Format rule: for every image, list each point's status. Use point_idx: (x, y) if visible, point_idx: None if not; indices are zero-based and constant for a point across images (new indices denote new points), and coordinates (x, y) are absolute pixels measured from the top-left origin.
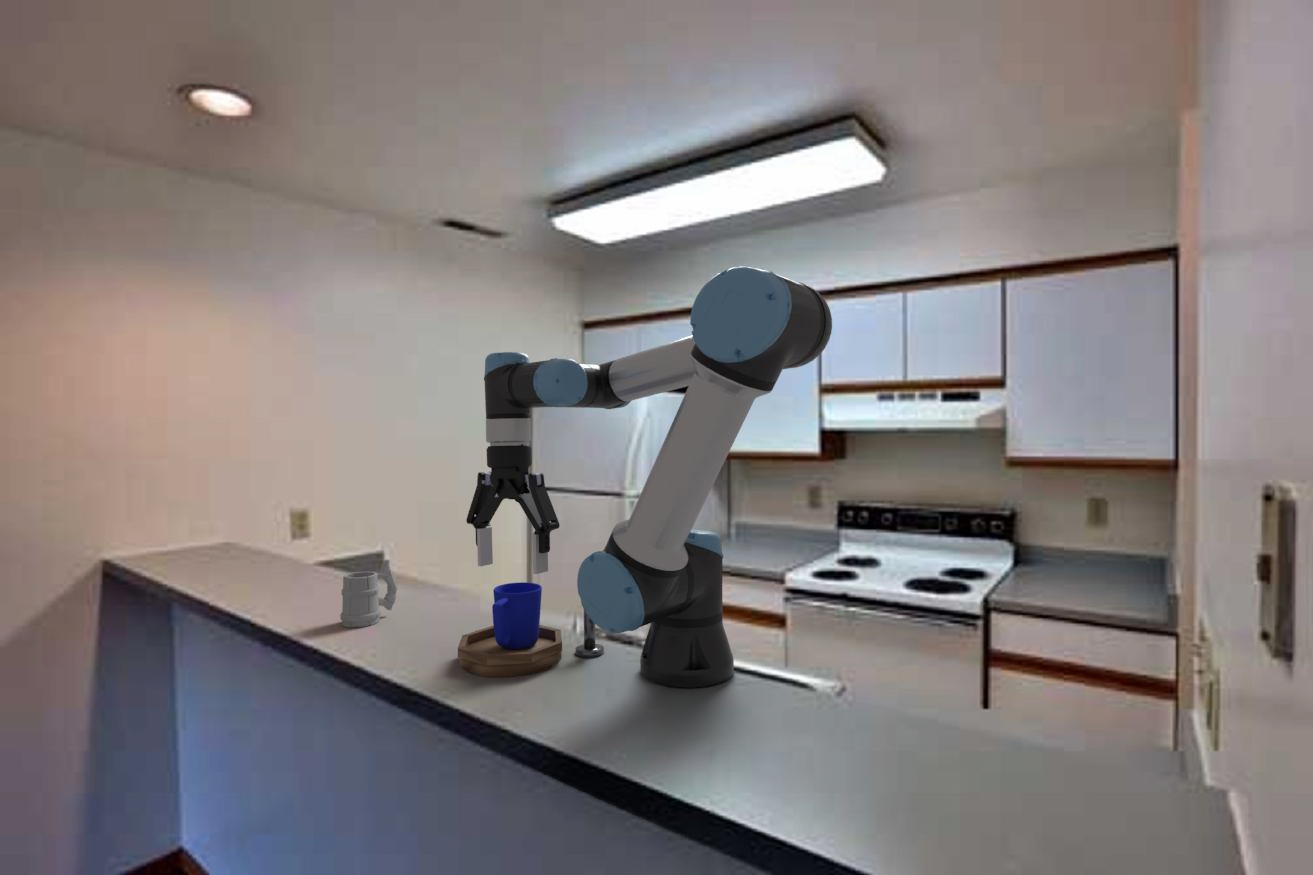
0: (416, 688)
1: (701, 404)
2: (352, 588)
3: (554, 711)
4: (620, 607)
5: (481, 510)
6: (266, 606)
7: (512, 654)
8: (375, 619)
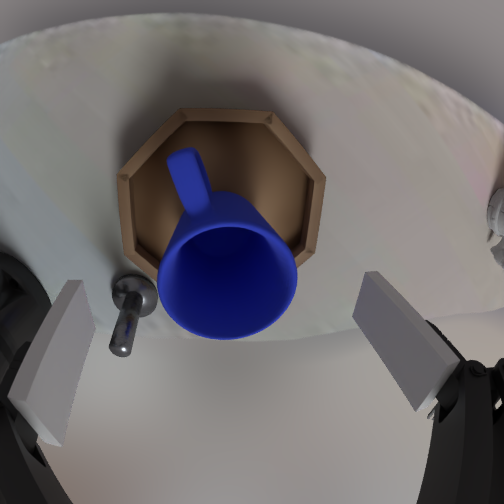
0: (255, 21)
1: None
2: None
3: (16, 101)
4: None
5: (488, 440)
6: None
7: (143, 147)
8: (490, 216)
